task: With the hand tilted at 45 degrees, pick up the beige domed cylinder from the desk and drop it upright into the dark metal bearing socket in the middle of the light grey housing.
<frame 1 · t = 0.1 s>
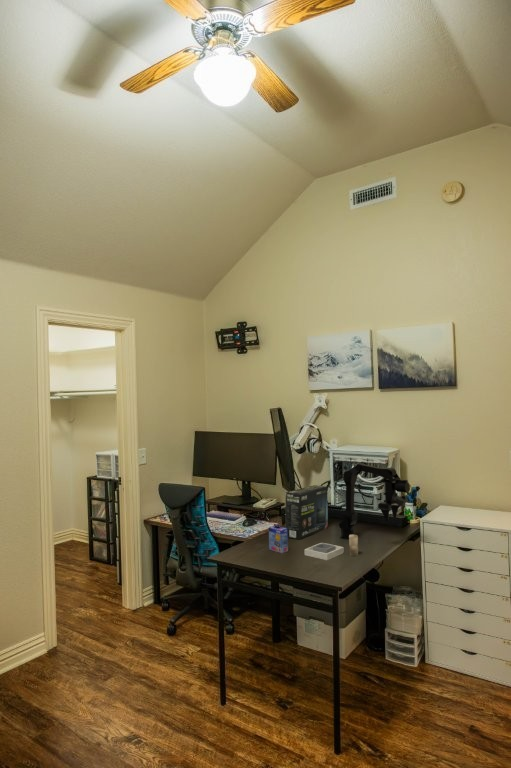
hand: (391, 519, 265), 15 cm above the table, fingers open, 9 cm apart
router box: (307, 532, 297), on the table
ink cartridge box: (278, 550, 260), on the table
housing: (324, 553, 252), on the table
beige domed cylinder: (353, 555, 249), on the table
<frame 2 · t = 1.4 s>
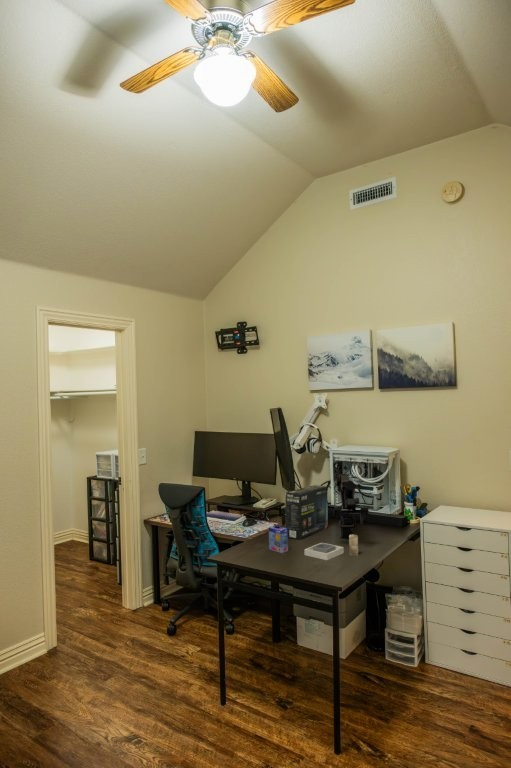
hand: (352, 525, 258), 13 cm above the table, fingers open, 9 cm apart
nothing on the table moved.
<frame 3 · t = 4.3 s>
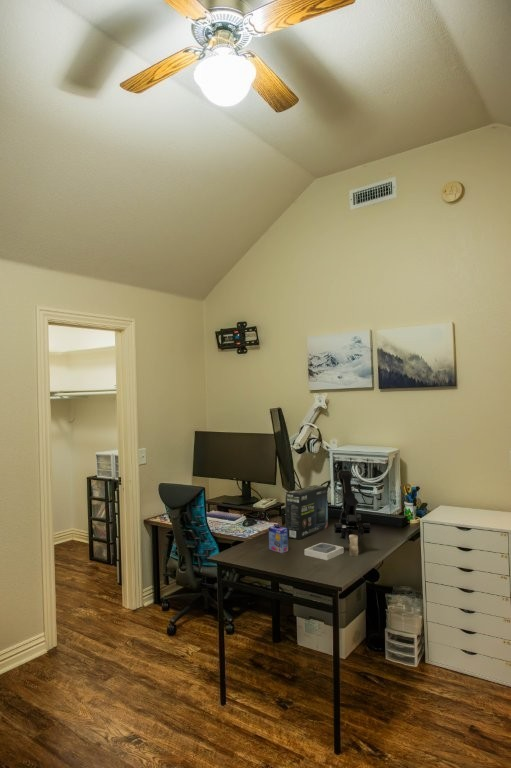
hand: (353, 542, 248), 7 cm above the table, fingers closed on beige domed cylinder, 4 cm apart
beige domed cylinder: (353, 555, 249), on the table, touching gripper
everything else where it was.
when the fingers open (9 cm above the table, at t = 7.6 s): beige domed cylinder drops 1 cm, resting on housing.
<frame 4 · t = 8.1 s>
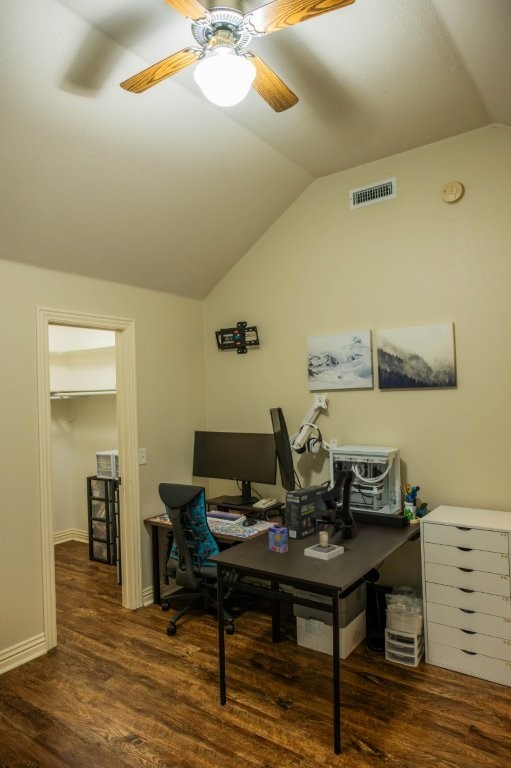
hand: (322, 537, 251), 9 cm above the table, fingers open, 9 cm apart
beige domed cylinder: (324, 551, 252), point 1 cm above the table, touching housing
everything else where it was.
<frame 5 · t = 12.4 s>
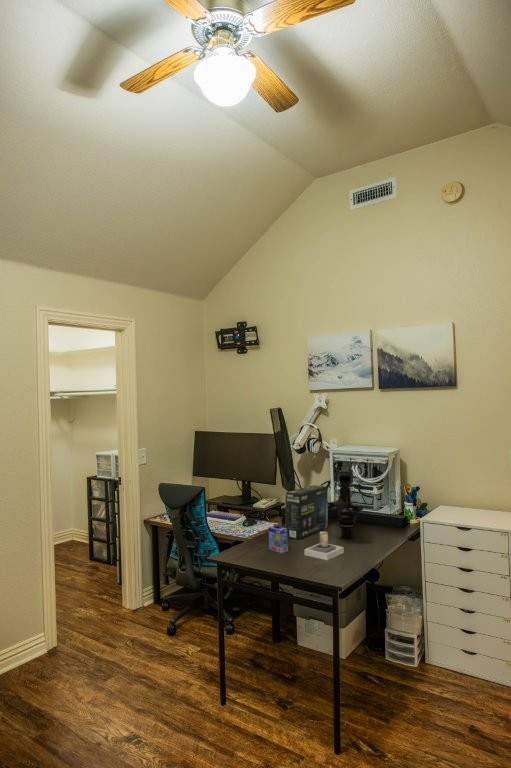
hand: (346, 521, 268), 13 cm above the table, fingers open, 9 cm apart
nothing on the table moved.
at the end: beige domed cylinder 0.1 cm off-centre on the housing, point 1.1 cm above the housing's base; beige domed cylinder tilted 0°; the gripper is holding nothing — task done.
